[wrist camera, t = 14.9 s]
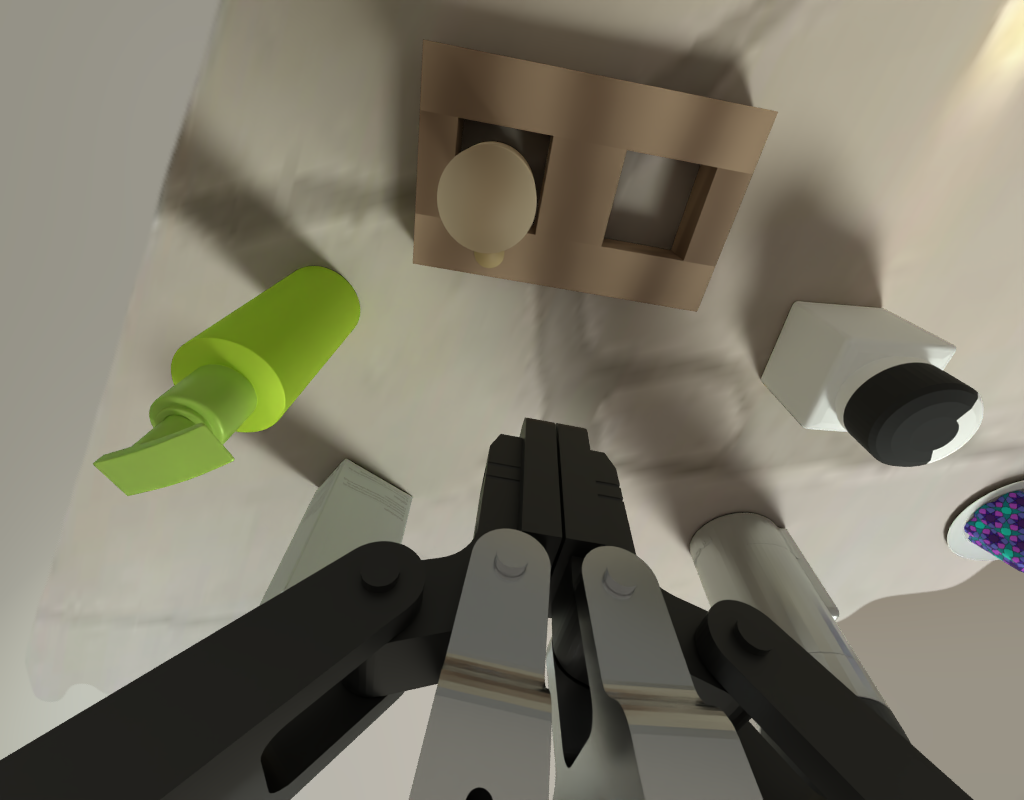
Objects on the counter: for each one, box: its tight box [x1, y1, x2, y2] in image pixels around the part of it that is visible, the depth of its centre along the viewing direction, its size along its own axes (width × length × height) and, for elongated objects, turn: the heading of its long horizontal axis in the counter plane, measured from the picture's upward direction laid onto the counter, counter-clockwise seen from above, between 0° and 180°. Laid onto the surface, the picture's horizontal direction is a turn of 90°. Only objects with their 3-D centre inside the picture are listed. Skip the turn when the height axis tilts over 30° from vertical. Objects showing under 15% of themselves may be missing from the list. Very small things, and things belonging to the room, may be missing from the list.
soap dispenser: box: [93, 266, 360, 496], centre depth 26 cm, size 6×7×20 cm
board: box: [413, 39, 778, 312], centre depth 29 cm, size 20×12×3 cm, turn 81°
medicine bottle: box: [761, 301, 984, 467], centre depth 31 cm, size 7×7×12 cm
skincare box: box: [259, 459, 412, 606], centre depth 39 cm, size 8×6×15 cm
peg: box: [437, 141, 537, 253], centre depth 25 cm, size 4×4×12 cm
